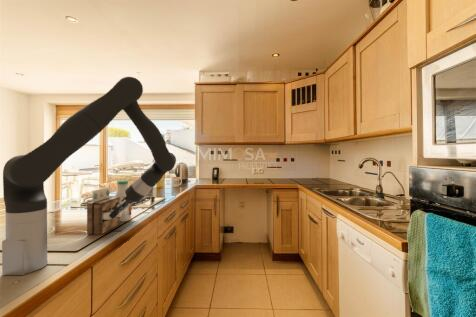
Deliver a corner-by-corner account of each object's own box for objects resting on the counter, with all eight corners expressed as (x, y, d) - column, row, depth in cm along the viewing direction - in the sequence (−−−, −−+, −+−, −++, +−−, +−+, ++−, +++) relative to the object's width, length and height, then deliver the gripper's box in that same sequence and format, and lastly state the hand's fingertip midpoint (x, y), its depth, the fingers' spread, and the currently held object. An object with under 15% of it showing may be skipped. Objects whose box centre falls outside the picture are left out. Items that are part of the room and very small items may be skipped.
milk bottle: (125, 222, 119) (125, 181, 119) (111, 221, 120) (111, 181, 120) (134, 218, 127) (134, 180, 126) (120, 217, 128) (120, 179, 127)
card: (94, 202, 103) (94, 190, 103) (92, 202, 103) (92, 190, 103) (109, 197, 115) (109, 186, 115) (108, 197, 115) (108, 186, 115)
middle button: (118, 217, 107) (118, 210, 107) (107, 217, 107) (107, 210, 107) (122, 215, 110) (122, 209, 110) (111, 215, 110) (111, 209, 110)
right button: (124, 215, 112) (124, 208, 112) (113, 214, 112) (113, 208, 112) (127, 213, 115) (127, 207, 115) (116, 213, 115) (116, 206, 115)
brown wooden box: (100, 234, 101) (100, 203, 101) (87, 234, 102) (87, 203, 101) (119, 224, 116) (119, 197, 116) (107, 223, 117) (107, 196, 116)
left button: (108, 220, 102) (108, 213, 102) (96, 220, 103) (96, 213, 103) (112, 218, 105) (112, 211, 105) (100, 218, 106) (100, 211, 106)
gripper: (140, 180, 110) (113, 207, 110) (125, 184, 97) (95, 214, 97) (151, 192, 110) (125, 218, 110) (139, 197, 97) (108, 227, 97)
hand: (111, 216), depth 104 cm, fingers closed
